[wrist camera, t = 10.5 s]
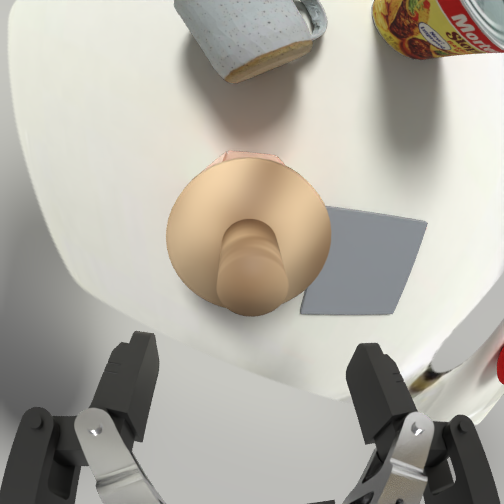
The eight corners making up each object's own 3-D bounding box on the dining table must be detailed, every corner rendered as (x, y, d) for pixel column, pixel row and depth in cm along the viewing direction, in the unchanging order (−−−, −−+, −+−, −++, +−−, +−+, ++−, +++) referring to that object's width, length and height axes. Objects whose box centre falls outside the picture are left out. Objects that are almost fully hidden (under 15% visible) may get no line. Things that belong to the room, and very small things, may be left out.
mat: (424, 221, 26) (427, 223, 26) (390, 310, 32) (392, 313, 31) (323, 205, 25) (325, 207, 25) (300, 310, 31) (300, 313, 30)
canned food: (390, 64, 19) (482, 51, 8) (357, -8, 15) (427, -59, 5) (447, 57, 18) (535, 55, 7) (419, -8, 14) (495, -37, 4)
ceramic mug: (227, 94, 20) (224, 83, 13) (181, 20, 17) (160, -15, 10) (339, 47, 18) (379, 26, 12) (293, -23, 15) (315, -64, 8)
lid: (340, 169, 18) (382, 196, 12) (309, 304, 23) (327, 361, 17) (171, 152, 17) (139, 172, 11) (172, 295, 22) (155, 352, 16)
